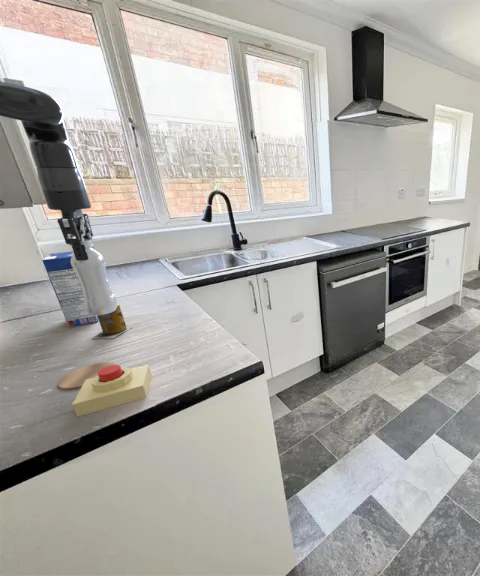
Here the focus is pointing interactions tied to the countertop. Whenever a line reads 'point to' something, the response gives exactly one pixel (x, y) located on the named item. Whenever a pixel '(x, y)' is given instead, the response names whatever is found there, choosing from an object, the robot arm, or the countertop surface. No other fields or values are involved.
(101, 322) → the condiment
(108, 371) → the red button cap
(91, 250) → the plastic bottle
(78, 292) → the blue cardboard box
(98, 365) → the coaster
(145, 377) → the button base
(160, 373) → the countertop surface
